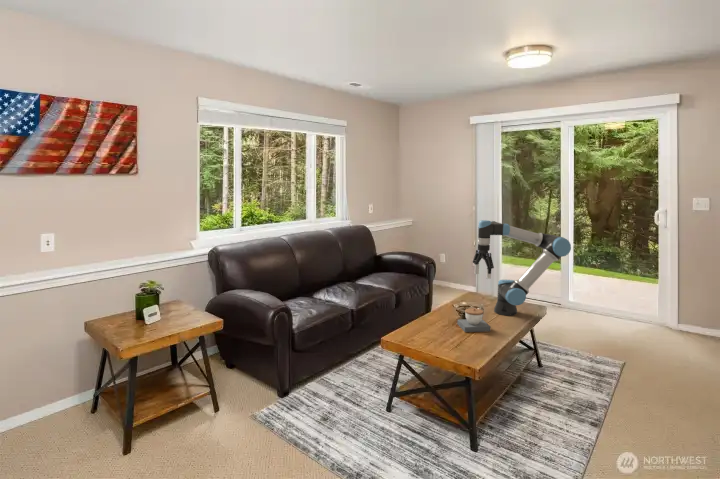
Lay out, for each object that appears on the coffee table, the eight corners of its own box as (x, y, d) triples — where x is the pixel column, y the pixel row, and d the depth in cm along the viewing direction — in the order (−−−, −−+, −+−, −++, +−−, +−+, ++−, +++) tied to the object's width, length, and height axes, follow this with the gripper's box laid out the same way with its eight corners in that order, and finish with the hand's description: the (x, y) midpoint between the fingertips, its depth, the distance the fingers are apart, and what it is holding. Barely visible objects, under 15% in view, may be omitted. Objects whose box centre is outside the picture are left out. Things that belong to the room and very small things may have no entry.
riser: (481, 323, 267) (481, 318, 266) (490, 331, 253) (490, 326, 252) (457, 324, 265) (457, 319, 265) (464, 332, 251) (464, 327, 251)
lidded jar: (483, 326, 253) (484, 311, 251) (465, 325, 255) (465, 310, 253) (481, 320, 263) (482, 306, 262) (464, 319, 265) (464, 305, 264)
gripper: (468, 241, 280) (467, 272, 283) (490, 247, 256) (488, 281, 259) (477, 241, 282) (476, 271, 285) (500, 246, 258) (498, 280, 261)
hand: (482, 276), depth 272 cm, fingers open, 13 cm apart
